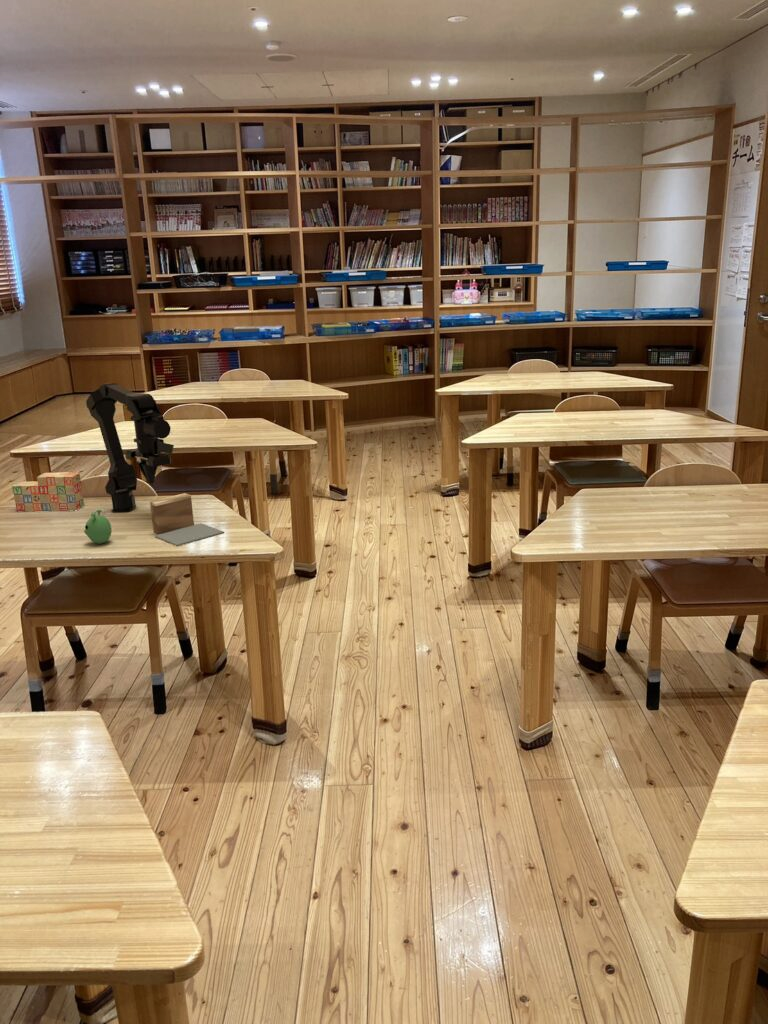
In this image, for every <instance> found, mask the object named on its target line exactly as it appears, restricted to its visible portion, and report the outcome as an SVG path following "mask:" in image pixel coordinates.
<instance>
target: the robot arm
mask: <svg viewBox="0 0 768 1024" xmlns="http://www.w3.org/2000/svg"><path fill="white" fill-rule="evenodd" d="M85 401H86V403H85V404H86V408H87V409H88V411H89V413H90V416H91V418H93V419H94V420H95V421H96V422H97V423H98V426H99V428H100V429H99V430H100V434H101V437H102V440H103V444H104V447H105V450H106V453H107V456H108V461H109V469H108V473H107V475H108V481H107V482H106V485H105V487H104V489H105V492H106V494H108V495H110V498H111V505H112V509H111V510H110V511H111V513H124V512H126V513H129V511H130V512H131V511H133V510H134V509H135V508H137V505H136V497H135V494H133V492H134V491H137V485H138V477H137V473H136V471H135V466H134V465H133V464H132V463H128V462H127V460H129V461H131V460H132V459H133V458H136V461H135V462H134V464H135V465H136V466H137V468H138V469H139V470H140V472H141V474H142V475H143V476H144V478H145V480H146V482H147V483H148V484H150V485H152V484H154V483H155V478H156V473H157V469H158V467H161V466H165V465H171V464H172V459H171V456H172V455H173V451H174V444H170V443H168V442H167V443H166V442H165V441H164V439H166V438H167V437H168V436H169V435H170V433H171V429H172V428H171V426H170V423H169V422H168V421H167V420H165V419H164V416H163V414H162V412H161V408H160V407H159V406H158V404H157V402H156V399H155V398H154V396H152V394H151V393H146V392H145V393H144V392H134V391H131V390H130V389H127V388H124V387H123V386H120V385H119V384H118V383H117V382H108V383H102V384H101V385H100V386H98V388H97V389H95V390H94V391H93V392H91V393H90V394H89V396H88V398H87V399H86V400H85ZM117 403H120V404H122V405H124V406H126V410H127V411H128V412H130V414H132V416H130V420H131V421H133V423H134V424H133V425H134V432H135V438H133V442H134V443H136V447H137V448H131V449H128V450H126V452H125V454H124V451H123V447H122V445H121V440H120V436H119V434H118V430H117V427H116V423H115V420H114V417H115V415H116V414H115V413H116V410H117V409H116V404H117ZM170 455H171V456H170ZM132 509H133V510H132Z"/></svg>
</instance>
